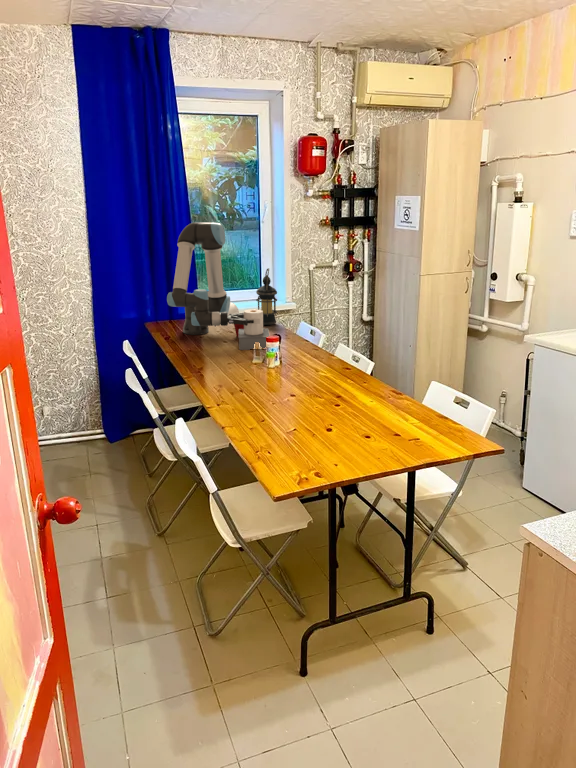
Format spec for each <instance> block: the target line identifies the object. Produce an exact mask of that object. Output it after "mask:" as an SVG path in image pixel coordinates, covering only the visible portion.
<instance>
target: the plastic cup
mask: <svg viewBox="0 0 576 768" xmlns="http://www.w3.org/2000/svg"><path fill="white" fill-rule="evenodd" d="M243 319H244V318H243ZM233 327H234V331H235V336H236V338H238V336H239V329H244V325H240V324H233Z"/></svg>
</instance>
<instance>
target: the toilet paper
mask: <svg viewBox="0 0 576 768" xmlns="http://www.w3.org/2000/svg"><path fill="white" fill-rule="evenodd" d="M243 313H244V319H260V324H248V325H247V326H246V325H244V333H245V334H248V335H259V334H262V333H263V329H264V325H263V311H262V310H261V309H259V310H258V308H257V309H255V308H253V309H244V310H243Z"/></svg>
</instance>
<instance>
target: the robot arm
mask: <svg viewBox="0 0 576 768" xmlns="http://www.w3.org/2000/svg"><path fill="white" fill-rule="evenodd" d="M225 243H226V232H225V227H223V225H222V224H221V223H219V222H198V221H197V222H191V223H189V224H188V225H186V226H185V227H184V228H183V229H182V231H181V232H180V234H179V236H178V239H177V244H176V245H177V247H178V251H177V258H176V264H175V265H176V266H175V273H174V279H173V286H172V291H170V292H168V294H167V296H166V302H167V305H168V306H169V307H176V308H184V313H185V314H184V315H185V320H184V324H183V327H182V333H183V334H185V335H191V336H192V335H193V336H195V335H197V336H198V335H204V334H207V333H209V332H210V330H209V327H211V326H213V327H215V328H216V327H218V326H222V327H226V326H228V323H229V324H231V325H234V324H240V325H246V326H247V325H248V324H260V319H243V318H244V312H239V313H236V314H229V316H228V312H229V308H230V302H231V297H230V296H229V295H228V294H227V291H226V290H225V289H224V281H223V280H224V279H223V269H222V268H223V267H222V266H223V265H222V257H221V250H222V249H223V247H224V245H225ZM196 245H200V246H201V250H203V251H204V256H205V257H204V258H205V265H206V278H207V279H206V280H207V286H208V290H207V289H203V288H201V289H199V288H198V289H194V290H193V292H192V293H191V292H188V285H189V278H190V271H191V264H192V258H193V257H192V256H193V251H194V250H195V248H196Z"/></svg>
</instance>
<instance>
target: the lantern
mask: <svg viewBox="0 0 576 768" xmlns="http://www.w3.org/2000/svg"><path fill="white" fill-rule="evenodd" d="M269 274H270V268H266V270H265V274H264V276H263V278H262V284H263V285H261V286H260V287H259V288H258V289H257V290H256V292H255V293H256V294H257V298H256V299H255V301H256V302H257V310H262V311H263V326H272V325H275V324H276V323H277V320H276V314H277V313H278V311H277V310H276V309H277V308H276V306H277V304H276V303H277V301H278V299H277V298H276V296H275V295H277V294H278V291H277V289H276V288H274V287H273V286H271V285H270V284H271V282H272V281H271V278H270V276H269ZM260 303H261V305H260ZM260 307H261V308H260Z"/></svg>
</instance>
